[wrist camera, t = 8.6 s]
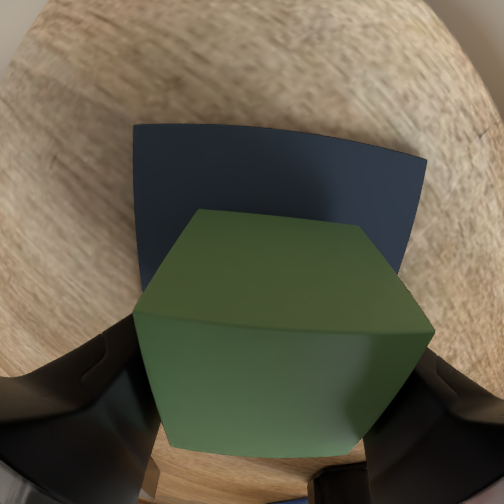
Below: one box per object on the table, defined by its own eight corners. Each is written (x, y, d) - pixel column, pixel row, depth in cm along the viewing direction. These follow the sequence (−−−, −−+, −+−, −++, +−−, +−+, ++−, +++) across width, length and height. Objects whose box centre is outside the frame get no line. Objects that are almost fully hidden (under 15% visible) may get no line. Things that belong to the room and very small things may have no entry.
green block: (359, 225, 8) (437, 330, 4) (325, 343, 11) (347, 455, 6) (198, 208, 8) (130, 311, 4) (198, 333, 11) (169, 447, 6)
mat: (422, 158, 8) (427, 160, 8) (356, 362, 13) (358, 368, 12) (138, 124, 8) (133, 125, 8) (155, 347, 13) (152, 352, 12)
